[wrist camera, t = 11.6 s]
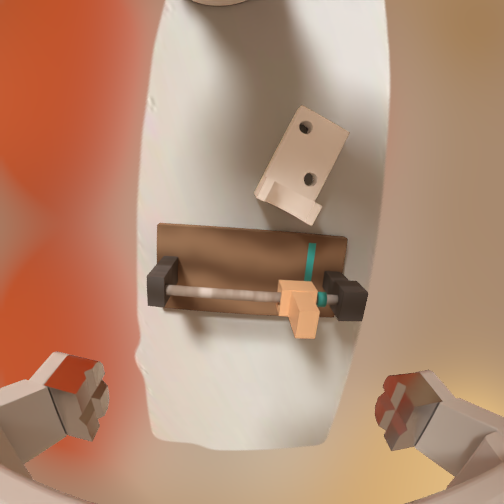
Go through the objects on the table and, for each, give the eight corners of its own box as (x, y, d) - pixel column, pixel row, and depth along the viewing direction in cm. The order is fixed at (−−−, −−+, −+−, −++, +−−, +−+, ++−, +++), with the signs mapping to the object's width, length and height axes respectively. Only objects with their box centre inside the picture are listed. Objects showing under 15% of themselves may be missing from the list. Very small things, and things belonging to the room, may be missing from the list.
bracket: (299, 216, 42) (311, 226, 35) (253, 192, 41) (256, 197, 34) (341, 135, 40) (361, 129, 32) (296, 110, 39) (308, 98, 31)
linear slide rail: (160, 223, 41) (134, 240, 31) (344, 236, 43) (375, 257, 32) (160, 302, 45) (139, 339, 34) (331, 312, 46) (354, 350, 35)
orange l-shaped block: (278, 279, 36) (289, 309, 28) (311, 281, 37) (329, 310, 29) (275, 304, 37) (285, 338, 29) (307, 305, 37) (324, 339, 30)
